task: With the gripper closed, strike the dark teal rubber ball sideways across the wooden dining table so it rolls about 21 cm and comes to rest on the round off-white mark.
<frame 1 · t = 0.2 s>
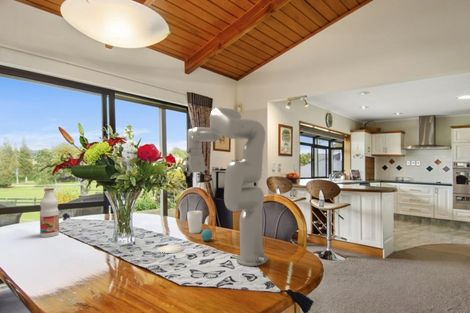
hand: (195, 182, 156), 30 cm above the table, tool pointing down, fingers open, 9 cm apart
fruit juice: (49, 235, 170), on the table
ball: (206, 234, 152), on the table
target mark: (170, 249, 139), on the table
cup: (195, 232, 171), on the table
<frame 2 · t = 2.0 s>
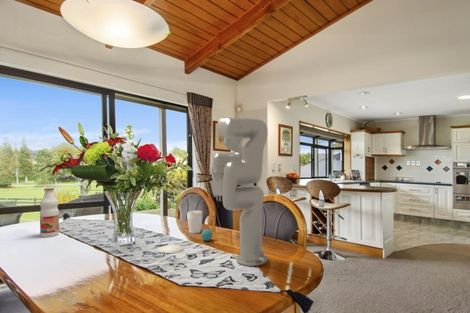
hand: (220, 208, 158), 16 cm above the table, tool pointing down, fingers closed
nothing on the table moved.
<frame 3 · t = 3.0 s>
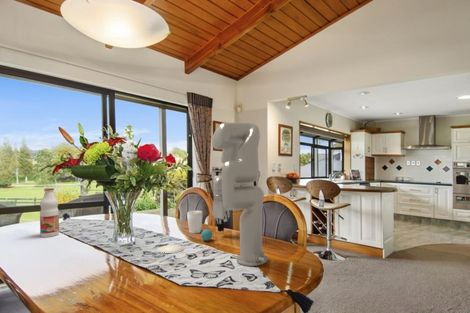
hand: (220, 230, 159), 3 cm above the table, tool pointing down, fingers closed
nothing on the table moved.
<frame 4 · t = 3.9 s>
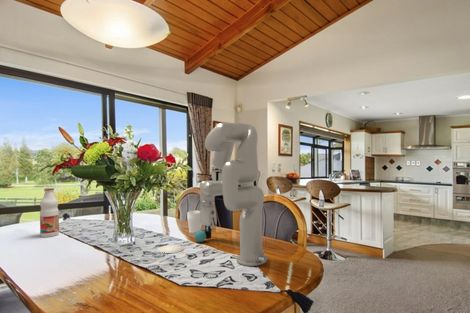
hand: (208, 238, 153), 1 cm above the table, tool pointing down, fingers closed
ball: (200, 236, 150), on the table
everything else where it was.
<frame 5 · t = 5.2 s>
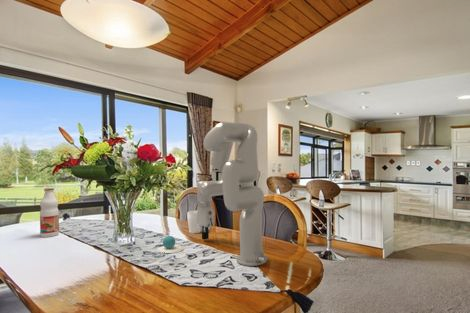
hand: (205, 238, 151), 1 cm above the table, tool pointing down, fingers closed
ball: (169, 242, 140), on the table
everything else where it was.
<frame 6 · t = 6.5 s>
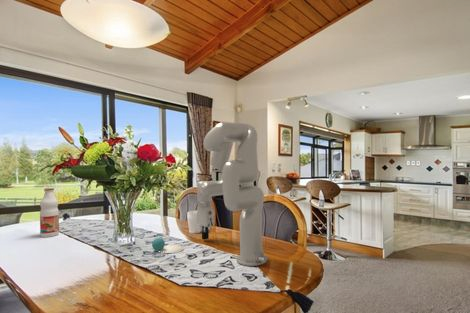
hand: (205, 238, 151), 1 cm above the table, tool pointing down, fingers closed
ball: (158, 244, 137), on the table
everything else where it was.
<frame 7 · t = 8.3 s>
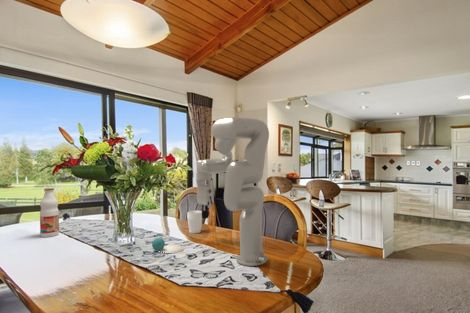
hand: (205, 217, 151), 12 cm above the table, tool pointing down, fingers closed
nothing on the table moved.
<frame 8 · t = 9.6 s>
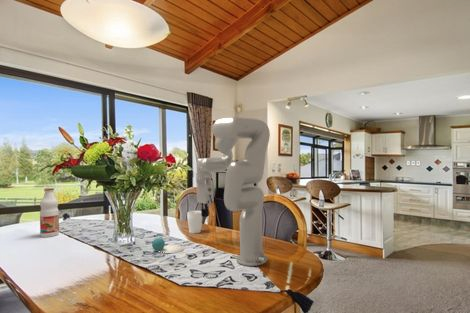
hand: (204, 216, 151), 13 cm above the table, tool pointing down, fingers closed
nothing on the table moved.
at the end: ball 5.8 cm from the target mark (horizontally); ball at rest at the end (0.0 cm/s); ball moved 26.3 cm from its start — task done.
